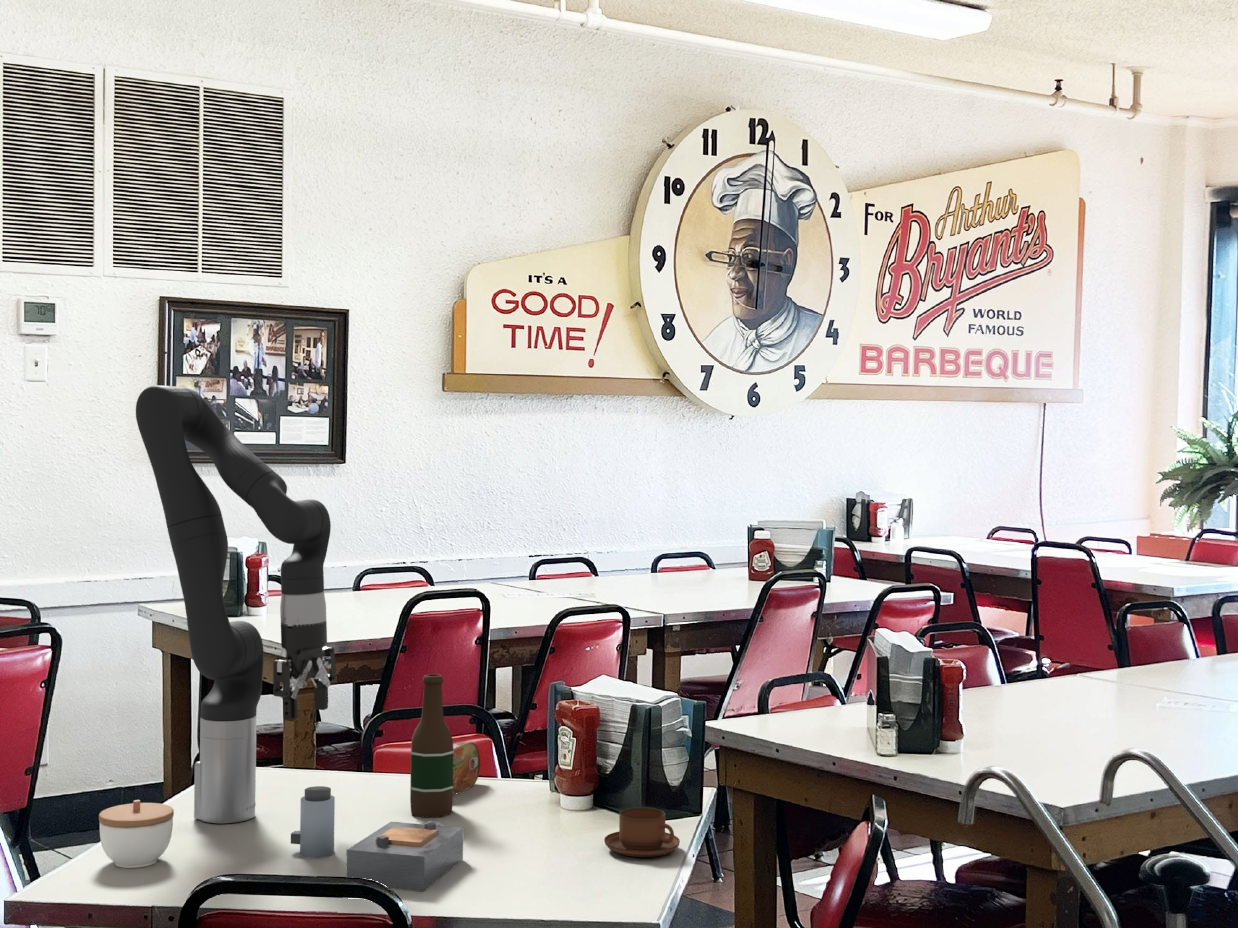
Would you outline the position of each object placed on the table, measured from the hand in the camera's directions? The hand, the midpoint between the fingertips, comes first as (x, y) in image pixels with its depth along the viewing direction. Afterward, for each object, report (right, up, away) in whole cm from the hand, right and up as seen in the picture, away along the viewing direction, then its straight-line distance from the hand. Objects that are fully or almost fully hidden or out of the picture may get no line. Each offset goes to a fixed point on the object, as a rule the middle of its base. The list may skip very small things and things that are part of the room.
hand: (306, 714), depth 231 cm
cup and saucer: (+56, -20, -13) cm, 61 cm away
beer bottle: (+20, -19, +9) cm, 29 cm away
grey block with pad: (+21, -19, -23) cm, 37 cm away
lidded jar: (-21, -18, -23) cm, 36 cm away
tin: (+22, -19, +25) cm, 38 cm away
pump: (+5, -19, -17) cm, 26 cm away
